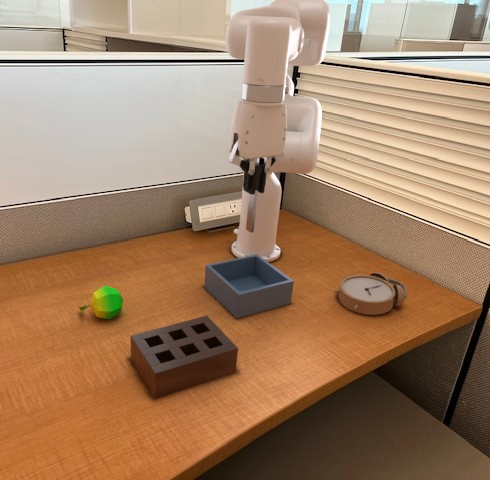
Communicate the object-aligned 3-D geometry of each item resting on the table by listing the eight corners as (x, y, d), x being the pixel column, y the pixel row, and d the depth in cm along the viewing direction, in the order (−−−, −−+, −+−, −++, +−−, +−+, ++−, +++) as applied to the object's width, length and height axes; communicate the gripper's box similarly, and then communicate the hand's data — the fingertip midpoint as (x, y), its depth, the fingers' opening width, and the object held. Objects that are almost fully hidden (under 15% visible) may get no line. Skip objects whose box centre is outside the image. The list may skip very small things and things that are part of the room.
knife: (243, 229, 97) (249, 162, 91) (249, 228, 98) (256, 161, 92) (249, 233, 96) (256, 165, 90) (255, 232, 96) (262, 164, 90)
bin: (204, 287, 107) (205, 264, 105) (254, 275, 113) (256, 253, 111) (236, 318, 96) (238, 294, 94) (290, 303, 102) (294, 280, 100)
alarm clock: (328, 281, 106) (385, 262, 109) (328, 299, 108) (383, 280, 111) (360, 308, 96) (421, 286, 100) (359, 327, 98) (419, 305, 102)
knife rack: (130, 359, 84) (130, 335, 81) (205, 337, 90) (207, 315, 88) (154, 398, 75) (155, 373, 73) (235, 371, 82) (238, 348, 80)
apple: (122, 278, 94) (77, 287, 90) (131, 309, 92) (84, 319, 88) (115, 291, 100) (72, 299, 96) (123, 319, 98) (79, 329, 94)
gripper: (285, 89, 92) (274, 181, 100) (214, 92, 85) (209, 190, 93) (310, 95, 86) (297, 192, 94) (237, 99, 79) (229, 203, 87)
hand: (253, 191), depth 93 cm, fingers closed on knife, 1 cm apart
